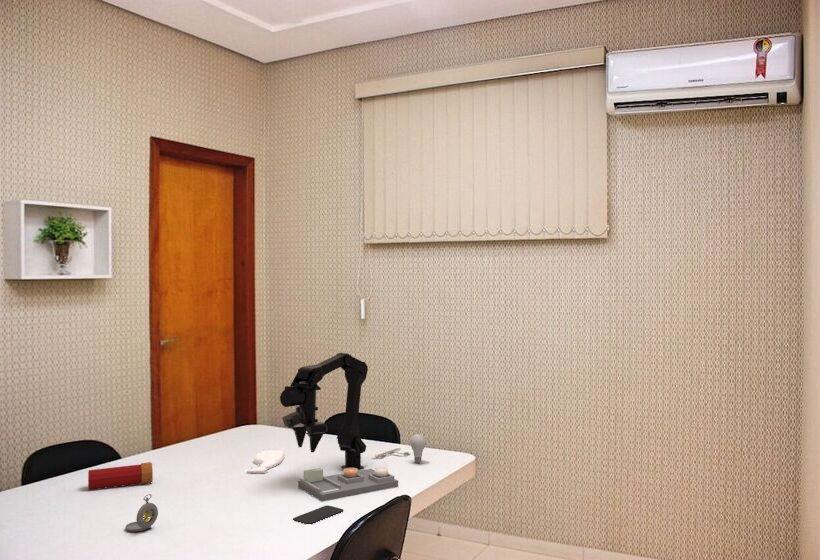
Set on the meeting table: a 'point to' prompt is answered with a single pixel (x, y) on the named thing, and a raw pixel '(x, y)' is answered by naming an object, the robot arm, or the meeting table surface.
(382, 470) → the offwhite button
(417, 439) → the lightbulb
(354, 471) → the terracotta button
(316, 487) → the control board
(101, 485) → the red tube
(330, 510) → the phone
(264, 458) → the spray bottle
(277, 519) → the meeting table surface
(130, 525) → the pocket watch
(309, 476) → the pale green block
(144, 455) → the meeting table surface
